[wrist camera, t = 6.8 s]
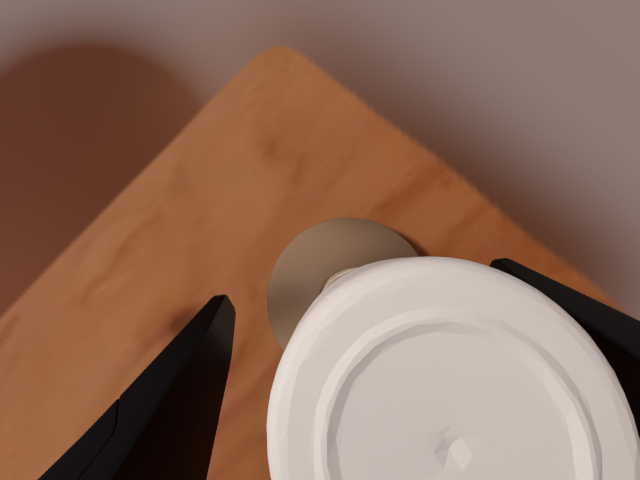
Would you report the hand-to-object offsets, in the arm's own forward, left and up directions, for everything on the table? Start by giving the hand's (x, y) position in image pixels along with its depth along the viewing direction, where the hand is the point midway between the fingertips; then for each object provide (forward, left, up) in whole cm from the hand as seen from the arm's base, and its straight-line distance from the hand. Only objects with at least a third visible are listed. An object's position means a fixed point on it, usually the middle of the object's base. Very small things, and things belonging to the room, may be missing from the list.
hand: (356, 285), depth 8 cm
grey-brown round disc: (-1, 0, -10) cm, 10 cm away
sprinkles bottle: (-2, 0, -8) cm, 8 cm away
